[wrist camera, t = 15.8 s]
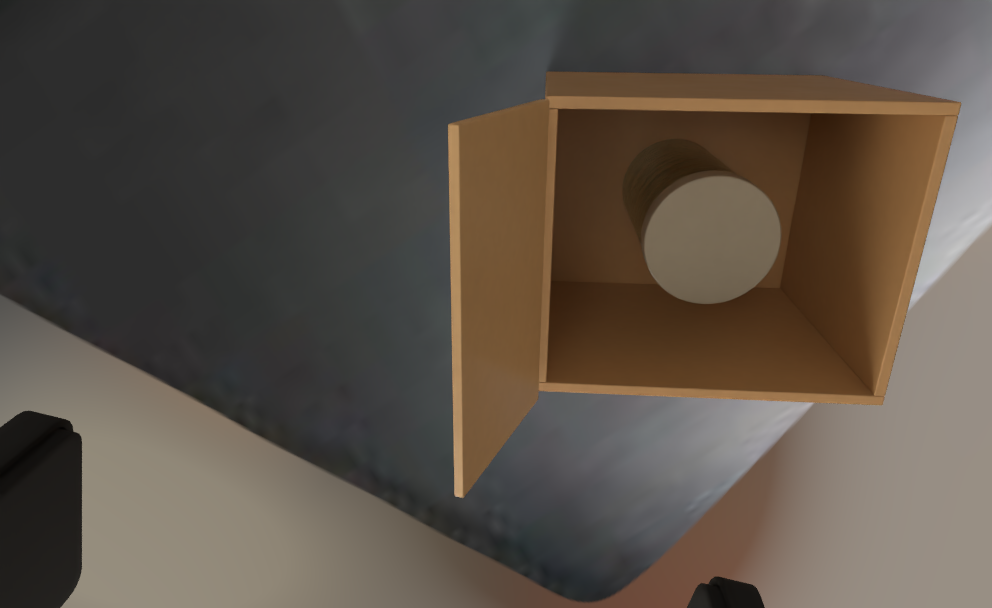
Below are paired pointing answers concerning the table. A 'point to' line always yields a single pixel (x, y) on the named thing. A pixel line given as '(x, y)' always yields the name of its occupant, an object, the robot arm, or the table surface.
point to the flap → (495, 277)
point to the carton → (804, 228)
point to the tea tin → (699, 222)
